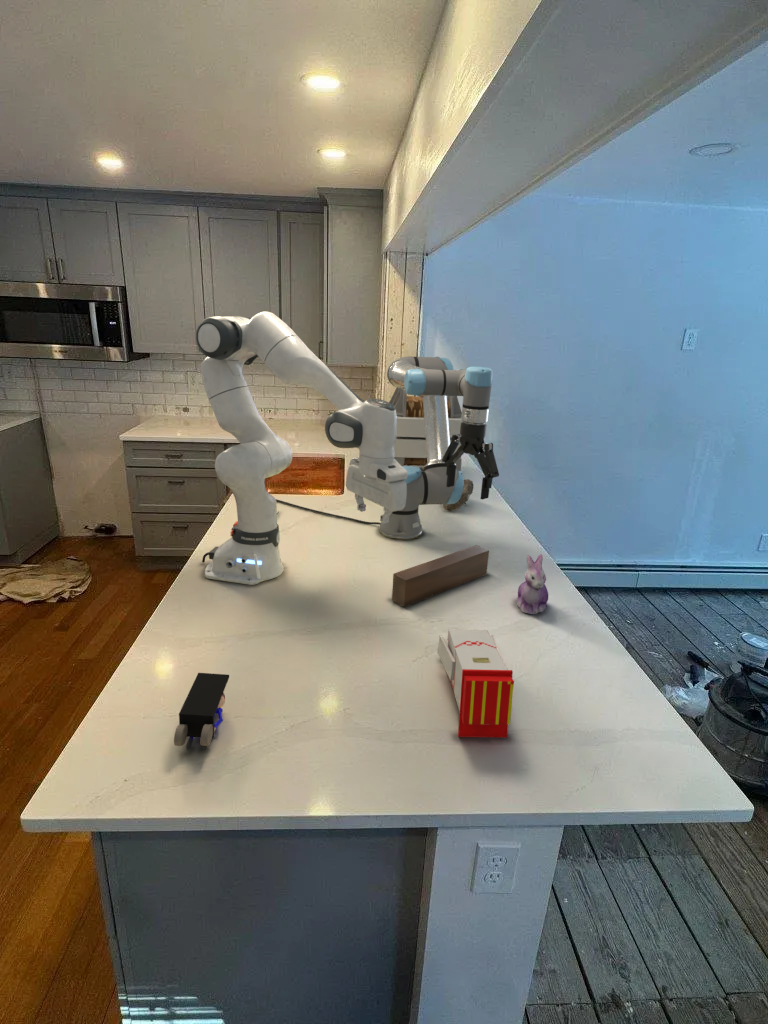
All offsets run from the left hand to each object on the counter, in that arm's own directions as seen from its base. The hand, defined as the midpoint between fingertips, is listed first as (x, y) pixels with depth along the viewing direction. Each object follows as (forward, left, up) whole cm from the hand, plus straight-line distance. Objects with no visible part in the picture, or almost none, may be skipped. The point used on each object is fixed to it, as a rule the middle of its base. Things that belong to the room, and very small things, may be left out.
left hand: (372, 516), depth 147 cm
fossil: (+32, +83, -24) cm, 92 cm away
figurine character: (-28, -54, -24) cm, 65 cm away
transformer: (+18, +127, -24) cm, 131 cm away
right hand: (+27, +25, 0) cm, 37 cm away
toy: (+23, -39, -24) cm, 51 cm away
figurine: (+44, -1, -24) cm, 50 cm away
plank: (+20, +8, -24) cm, 32 cm away
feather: (-37, +60, -24) cm, 74 cm away
